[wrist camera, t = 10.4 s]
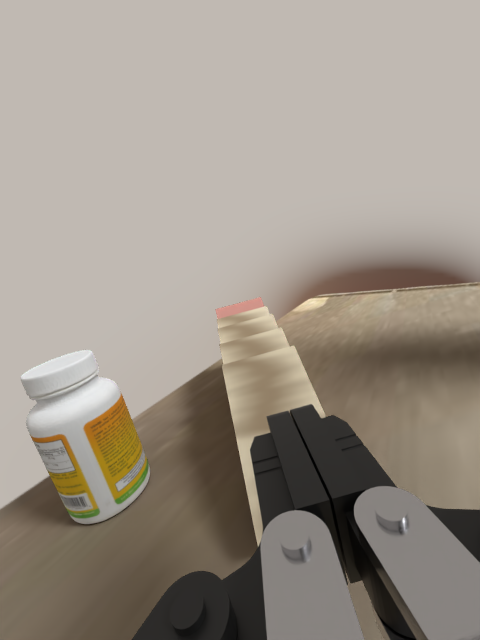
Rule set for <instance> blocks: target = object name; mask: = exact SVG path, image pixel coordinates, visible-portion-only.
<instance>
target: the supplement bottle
mask: <svg viewBox="0 0 480 640" xmlns="http://www.w3.org/2000/svg"><path fill="white" fill-rule="evenodd" d="M98 373H99V368H98V364H97V361H96V359H95V357H94V354H93V352H92V351H91V350H83V351H77V352H73V353H70V354H66V355H64V356H60V357H58V358H55V359H52V360H50V361H47V362H45V363H43V364H40V365H38V366H36V367H34V368H32V369H30V370H29V371H27V372H25V373H24V374H23V375H22V376H21V381H22V384H23V386H24V388H25V390H26V394H27V395H28V396H29V397H30V399H32V400H36V401H37V404H36V405H35V406H34V407H33V408H32V409H31V411H30V412H29V414H28V416H27V420H26V425H27V429H28V431H29V433H30V436H31V438H32V440H33V442H34V444H35V446H36V448H37V450H38V452H39V454H40V456H41V458H42V460H43V462H44V464H45V466H46V469H47V470H48V473H49V475H50V477H51V479H52V481H53V483H54V485H55V487H56V489H57V491H58V493H59V495H60V497H61V499H62V502H63V504H64V505H65V507H66V510H67V511H68V513H69V515H70V516H71V518H72V519H73V520H74V521H76V522H78V523H82V524H93V523H98V522H101V521H104V520H106V519H108V518H110V517H112V516H114V515H116V514H118V513H119V512H121V511H122V510H124V509H125V508H126V507H127V506H129V505H130V504H131V503H132V502H133V501H134V500H135V499H136V498H137V497H138V496H139V495H140V494H141V492H142V491H143V490H144V488H145V487H146V485H147V483H148V480H149V477H150V466H149V463H148V460H147V458H146V455H145V452H144V450H143V447H142V445H141V442H140V440H139V437H138V435H137V432H136V429H135V427H134V424H133V422H132V419H131V417H130V414H129V411H128V409H127V406H126V404H125V401H124V399H123V396H122V394H121V391H120V389H119V387H118V385H117V384H116V383H115V382H114V381H112V380H110V379H108V378H99V377H98V375H97V374H98Z"/></svg>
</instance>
